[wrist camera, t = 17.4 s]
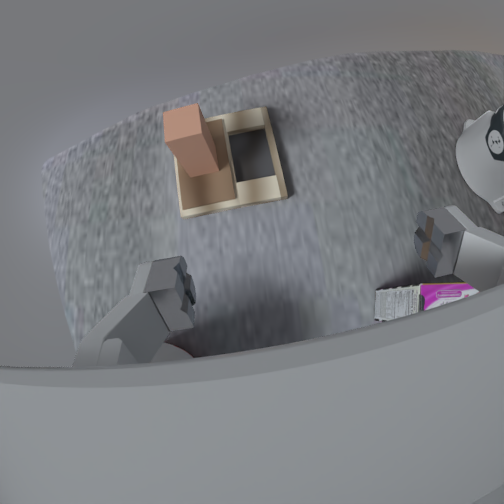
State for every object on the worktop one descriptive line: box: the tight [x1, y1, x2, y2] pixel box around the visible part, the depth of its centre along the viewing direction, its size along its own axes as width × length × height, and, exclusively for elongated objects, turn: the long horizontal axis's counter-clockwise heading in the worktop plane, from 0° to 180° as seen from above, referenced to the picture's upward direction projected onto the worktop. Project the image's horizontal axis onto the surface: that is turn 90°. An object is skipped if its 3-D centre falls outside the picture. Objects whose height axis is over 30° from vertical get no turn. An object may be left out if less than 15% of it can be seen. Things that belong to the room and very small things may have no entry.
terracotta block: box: [163, 103, 219, 178], centre depth 41 cm, size 4×4×12 cm
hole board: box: [174, 107, 288, 219], centre depth 48 cm, size 16×16×2 cm
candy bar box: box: [374, 282, 480, 322], centre depth 35 cm, size 11×5×16 cm, turn 88°
